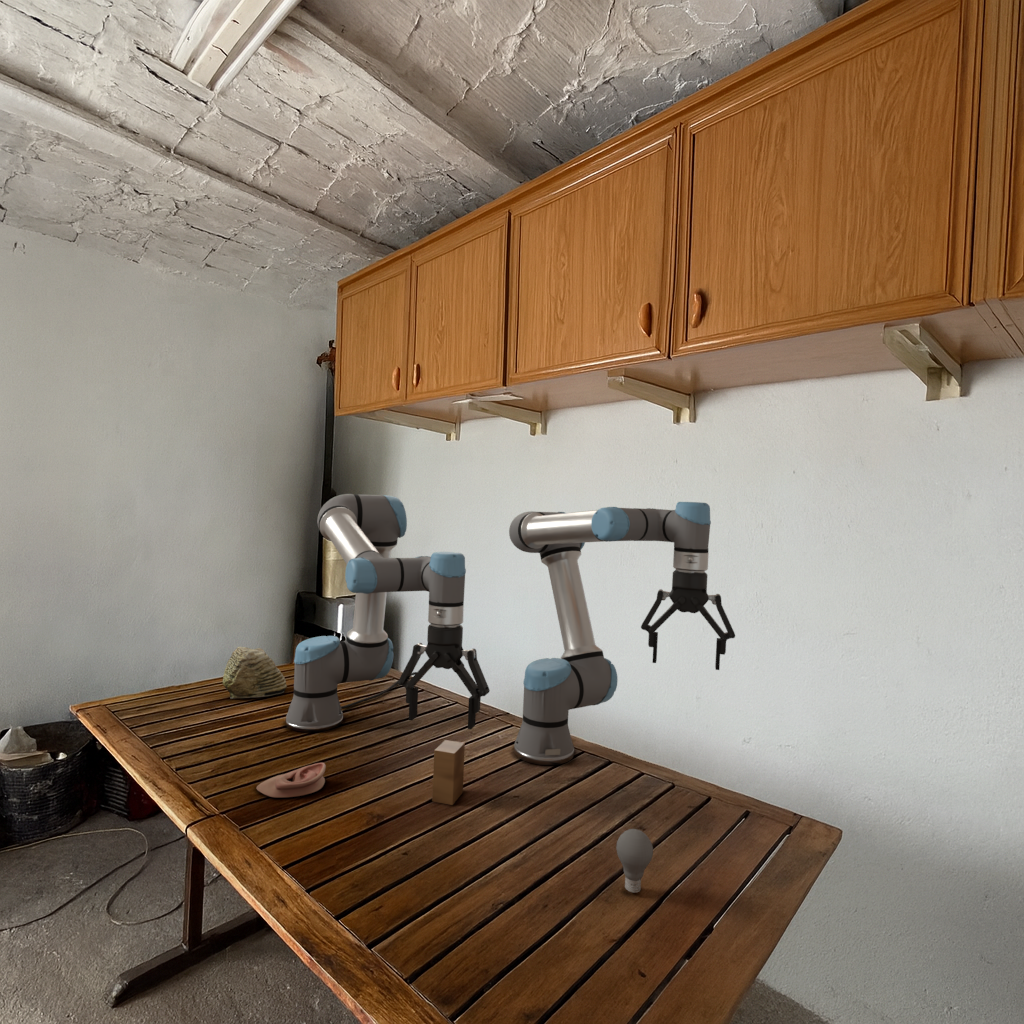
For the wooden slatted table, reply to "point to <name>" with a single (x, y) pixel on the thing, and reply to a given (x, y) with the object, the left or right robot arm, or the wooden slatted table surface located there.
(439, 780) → the brick
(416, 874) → the wooden slatted table surface
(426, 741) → the wooden slatted table surface
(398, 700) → the wooden slatted table surface
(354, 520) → the left robot arm
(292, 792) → the anatomical model
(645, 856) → the light bulb
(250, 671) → the fossil
